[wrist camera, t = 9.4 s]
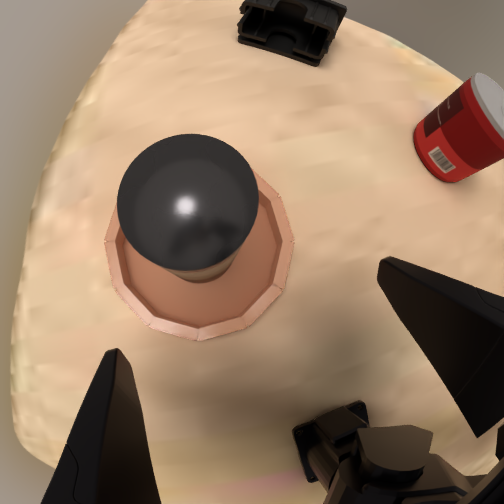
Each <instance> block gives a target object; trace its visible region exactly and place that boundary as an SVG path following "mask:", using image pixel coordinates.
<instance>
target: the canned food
mask: <svg viewBox="0 0 504 504" xmlns="http://www.w3.org/2000/svg"><path fill="white" fill-rule="evenodd" d="M414 144H415V148H416V150H417V153H418V155H419V157H420V159H421V160H422V162H423V163H424V165H425V166H426V167H427V169H428V170H429V171H430V172H431V173H432V174H433V175H435V176H436V177H437V178H439V179H441V180H443V181H446V182H457V181H460V180H462V179H464V178H466V177H468V176H470V175H472V174H474V173H476V172H478V171H480V170H482V169H484V168H486V167H488V166H490V165H492V164H494V163H496V162H497V161H499V160H501V159H503V158H504V91H503V90H502V88H501V87H500V86H499V85H498V84H497V83H496V82H494V81H493V80H492V79H491V78H489V77H488V76H487V75H485V74H483V73H476V74H475V75H473V76H472V77H471V78H470V79H468V80H467V81H466V82H464V83H463V84H462V85H461V86H460V87H459V88H458V89H457V90H455V91H454V92H453V93H452V94H451V95H450V96H449V97H448V98H446V99H445V100H444V101H443V102H442V103H441V104H440V105H438V106H437V107H436V108H435V109H434V110H433V111H432V112H431V113H429V114H428V115H427V116H426V117H425V118H424V119H423V120H421V121H420V122H419V123H418V125H417V127H416V129H415V132H414Z"/></svg>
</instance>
